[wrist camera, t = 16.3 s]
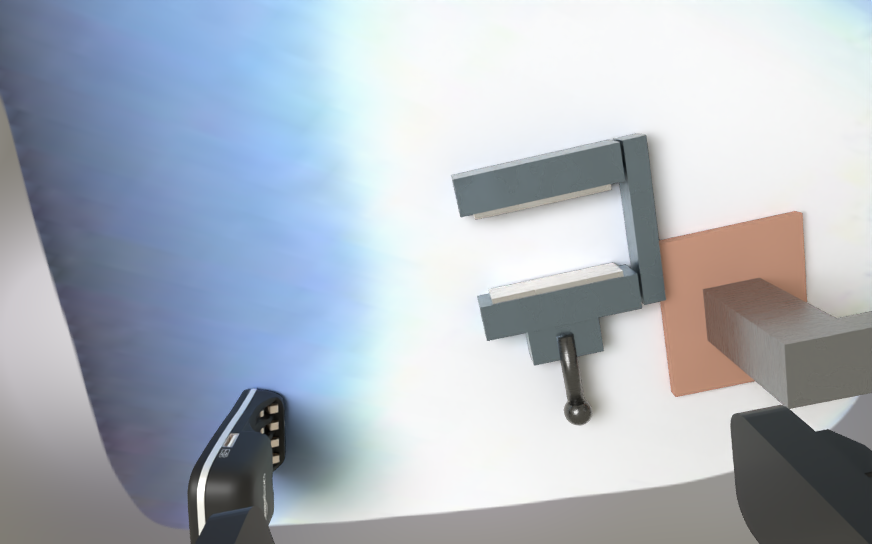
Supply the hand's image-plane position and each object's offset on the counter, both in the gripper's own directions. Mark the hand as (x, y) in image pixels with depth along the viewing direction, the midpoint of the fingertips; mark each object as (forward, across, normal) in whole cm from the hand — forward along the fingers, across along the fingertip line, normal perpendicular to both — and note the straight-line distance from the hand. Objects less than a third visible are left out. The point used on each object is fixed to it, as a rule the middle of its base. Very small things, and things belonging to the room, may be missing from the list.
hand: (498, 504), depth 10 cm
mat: (+32, -19, +12) cm, 39 cm away
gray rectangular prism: (+31, -20, +12) cm, 39 cm away
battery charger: (+32, +17, +14) cm, 39 cm away
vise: (+32, -7, +8) cm, 34 cm away
